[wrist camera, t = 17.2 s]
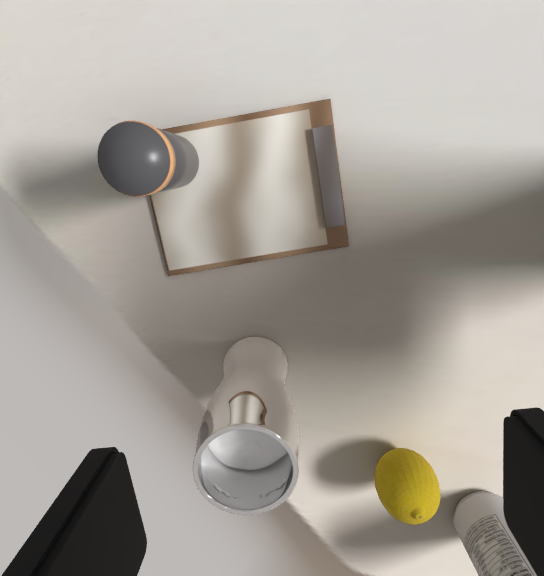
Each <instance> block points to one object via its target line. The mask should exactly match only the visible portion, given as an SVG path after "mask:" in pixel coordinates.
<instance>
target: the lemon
mask: <svg viewBox="0 0 544 576" xmlns="http://www.w3.org/2000/svg"><path fill="white" fill-rule="evenodd" d="M374 476H375V487H376V491H377V493H378V496H379V498H380V500H381V502H382V504H383V505H384V507H385V508H386V509H387V511H388V512H389V513H390V514H391V515H392V516H393V517H394V518H396V519H397V520H399V521H401V522H403V523H406V524H412V525H414V524H421V523H424V522H426V521H428V520H429V519H431V518H432V517H433V516H434V514H435V513H436V512H437V509H438V507H439V503H440V489H439V483H438V480H437V477H436V475H435V473H434V471H433V469H432V467H431V466H430V464H429V463H428V462H427V461H426V460H425V459H424V458H423V457H422V456H421V455H420V454H418V453H416V452H415V451H412V450H409V449H405V448H397V449H393V450H390V451H388V452H387V453H385V454H384V455H383V456H382V457H381V458H380V460H379V461H378V463H377V465H376V469H375V474H374Z"/></svg>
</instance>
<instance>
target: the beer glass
mask: <svg viewBox="0 0 544 576" xmlns="http://www.w3.org/2000/svg"><path fill="white" fill-rule="evenodd" d="M223 372H224V378H223V380H222V381H221V383H220V384H219V386H218V387H217V389H216V390H215V392H214V393H213V395H212V397H211V399H210V401H209V402H208V404H207V407H206V409H205V412H204V415H203V418H202V421H201V425H200V430H199V434H198V440H197V446H196V454H195V458H194V462H193V475H194V480H195V483H196V485H197V487H198V489H199V491H200V492H201V494H202V495H203V496H204V497H205V498H206V499H207V500H208V501H209V502H210V503H211V504H213V505H214V506H216V507H217V508H219V509H221V510H224V511H226V512H229V513H233V514H238V515H255V514H260V513H264V512H267V511H270V510H272V509H274V508H275V507H277V506H279V505H280V504H282V503H283V502H284V501H285V500H286V499H287V498H288V497H289V496H290V494H291V493H292V491H293V490H294V488H295V485H296V483H297V479H298V456H299V431H298V423H297V416H296V412H295V408H294V405H293V402H292V399H291V397H290V394H289V392H288V390H287V387H286V385H285V380H286V377H287V373H288V362H287V358H286V355H285V353H284V352H283V350H282V349H281V348H280V347H279V346H278V345H277V344H276V343H275V342H273V341H271V340H269V339H267V338H263V337H248V338H244V339H241V340H239V341H238V342H236V343H235V344H234V345H233V346H232V347H231V348H230V349H229V350H228V352H227V353H226V356H225V358H224V363H223Z"/></svg>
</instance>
